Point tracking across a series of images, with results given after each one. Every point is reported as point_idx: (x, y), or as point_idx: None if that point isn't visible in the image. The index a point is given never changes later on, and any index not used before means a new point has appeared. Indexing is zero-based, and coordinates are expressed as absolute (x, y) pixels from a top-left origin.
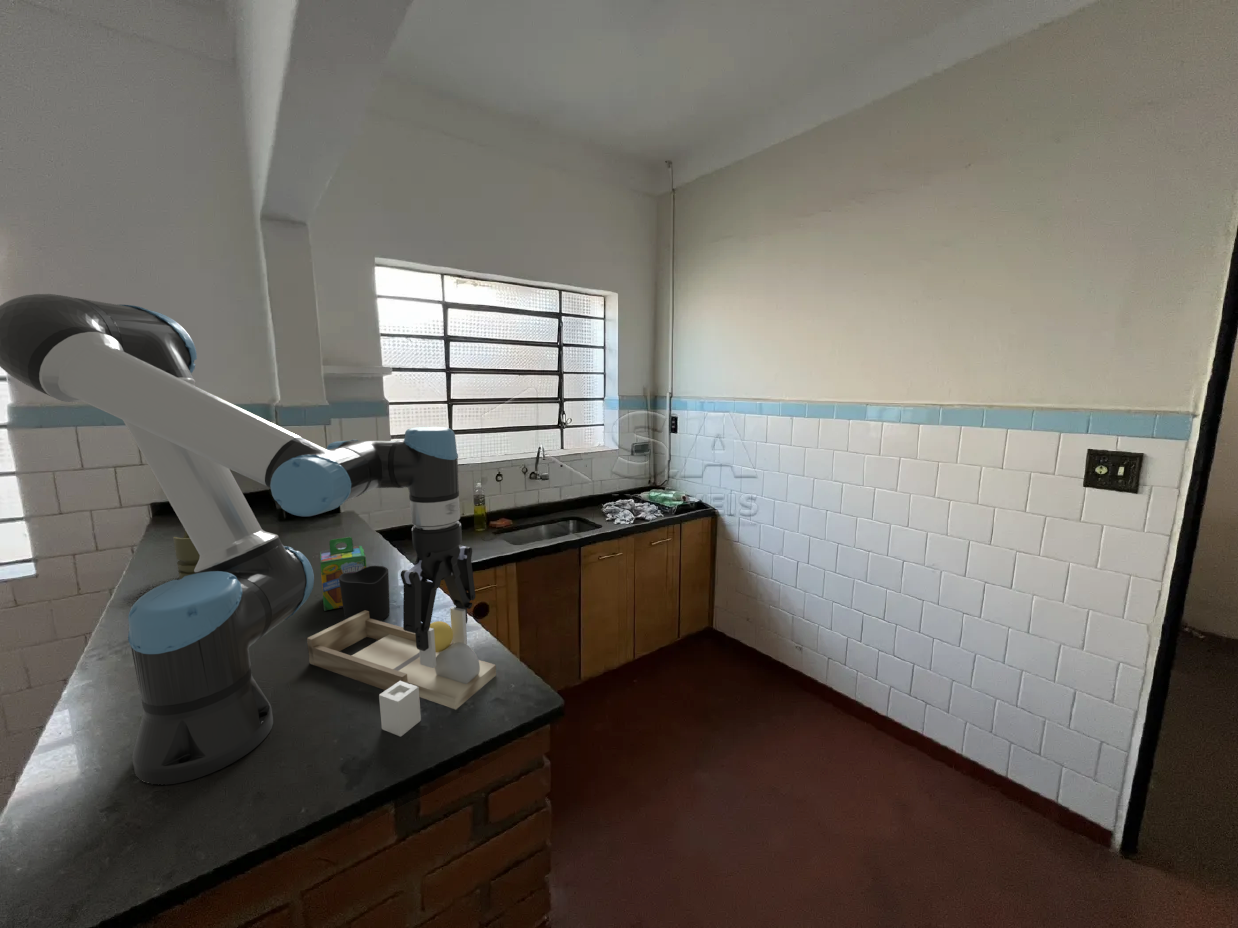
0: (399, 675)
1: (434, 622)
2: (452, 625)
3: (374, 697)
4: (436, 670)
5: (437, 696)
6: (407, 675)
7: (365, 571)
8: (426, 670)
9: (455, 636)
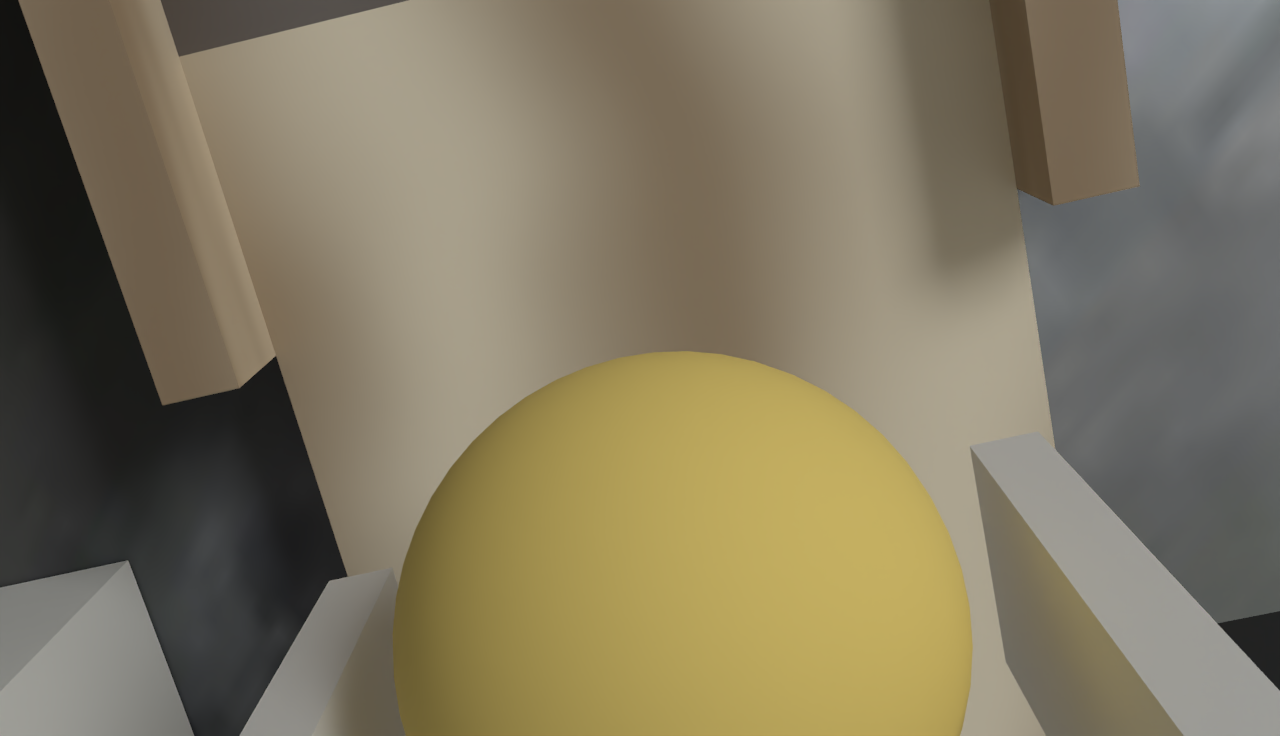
0: (153, 343)
1: (684, 722)
2: (1073, 617)
3: (24, 86)
4: None
5: None
6: (338, 226)
7: None
8: (552, 313)
9: (1015, 573)
